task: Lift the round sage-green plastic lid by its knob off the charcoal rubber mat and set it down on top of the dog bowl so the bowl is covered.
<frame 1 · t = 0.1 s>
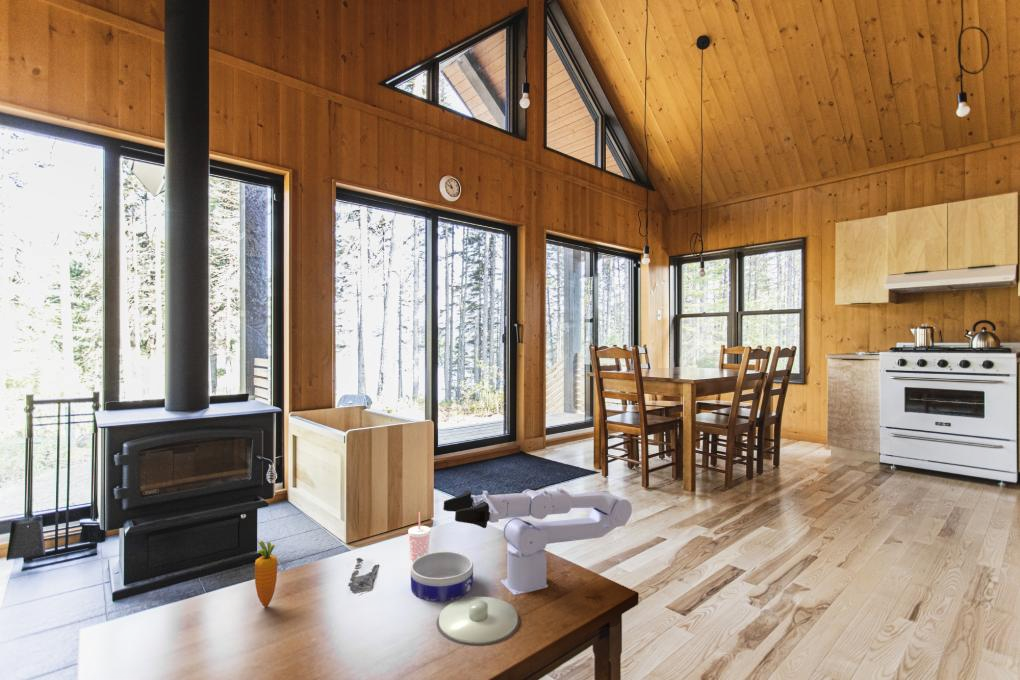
hand: (449, 510, 117), 22 cm above the table, tool horizontal, fingers open, 7 cm apart
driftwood: (364, 580, 129), on the table
dog bowl: (441, 589, 124), on the table
lid: (478, 620, 109), resting on mat
beverage cup: (419, 563, 138), on the table
mat: (478, 622, 109), on the table
carrot: (265, 607, 115), on the table
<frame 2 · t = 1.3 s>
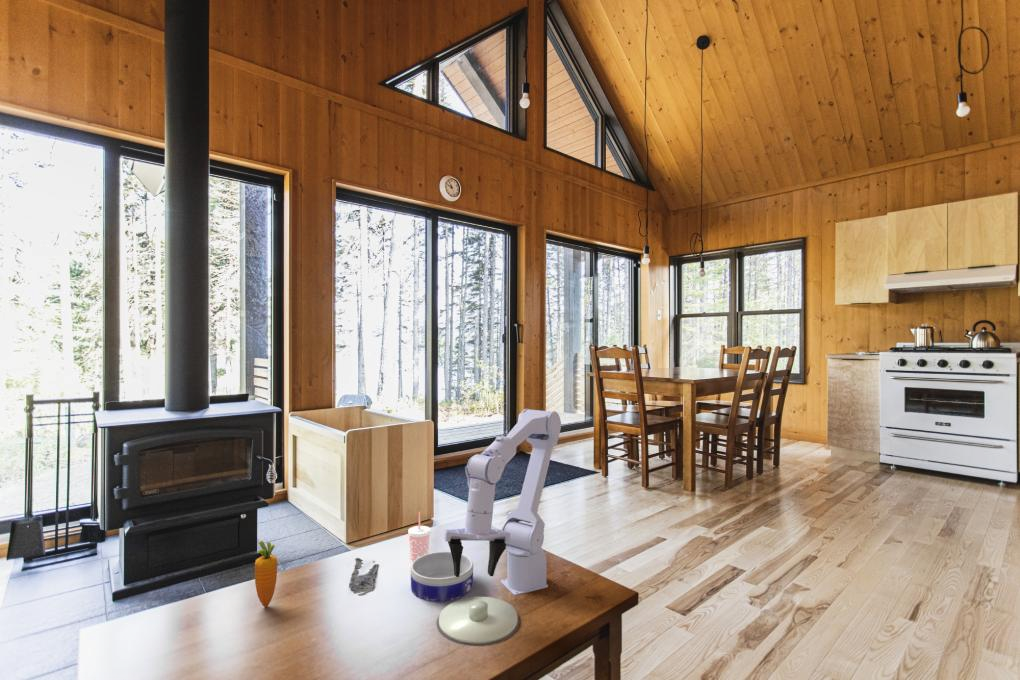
hand: (473, 575, 109), 10 cm above the table, tool pointing down, fingers open, 7 cm apart
nothing on the table moved.
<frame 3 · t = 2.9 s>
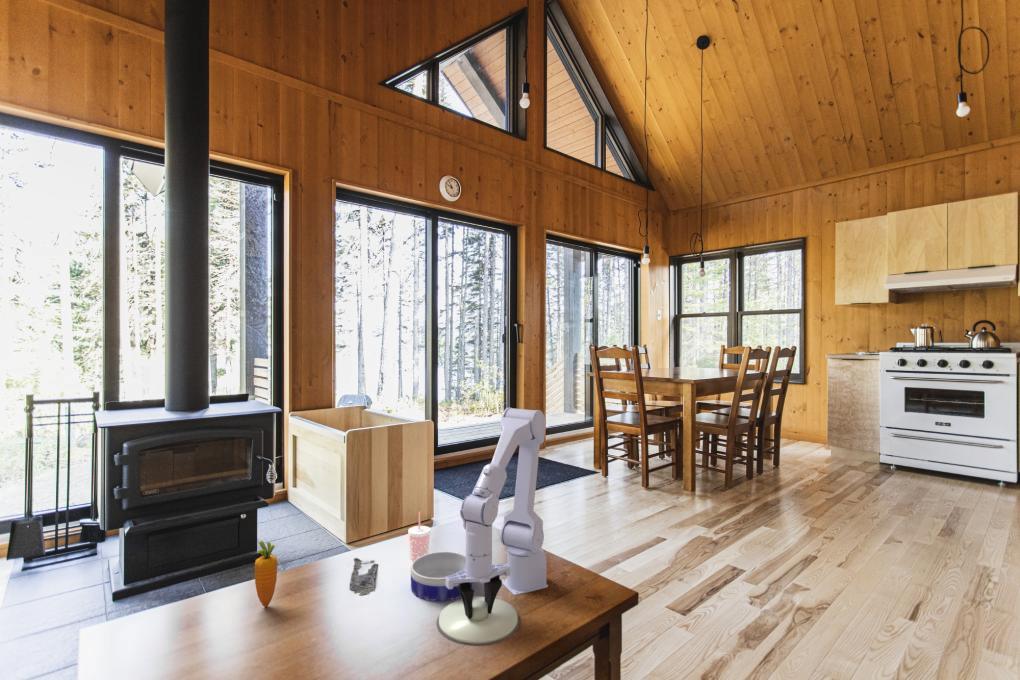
hand: (478, 613, 109), 2 cm above the table, tool pointing down, fingers closed on lid, 4 cm apart
lid: (478, 620, 109), resting on mat, touching gripper
everything else where it was.
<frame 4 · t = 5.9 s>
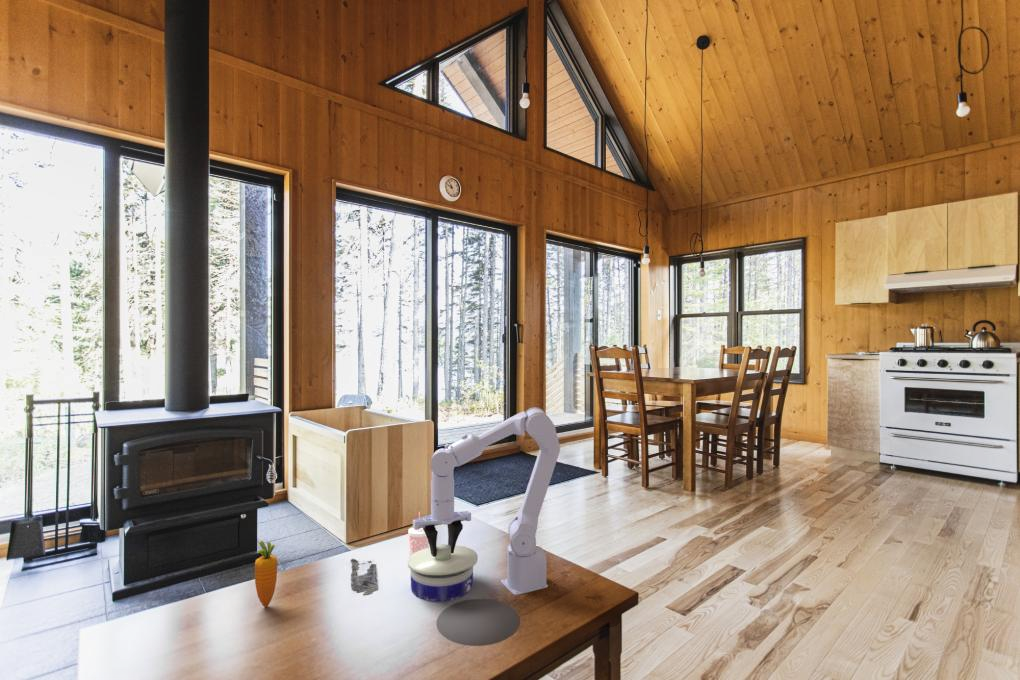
hand: (442, 553, 124), 8 cm above the table, tool pointing down, fingers closed on lid, 4 cm apart
lid: (443, 560, 124), point 7 cm above the table, touching gripper
everything else where it was.
when the fingers open (8 cm above the table, at t = 6.1 s): lid moves 1 cm, resting on dog bowl.
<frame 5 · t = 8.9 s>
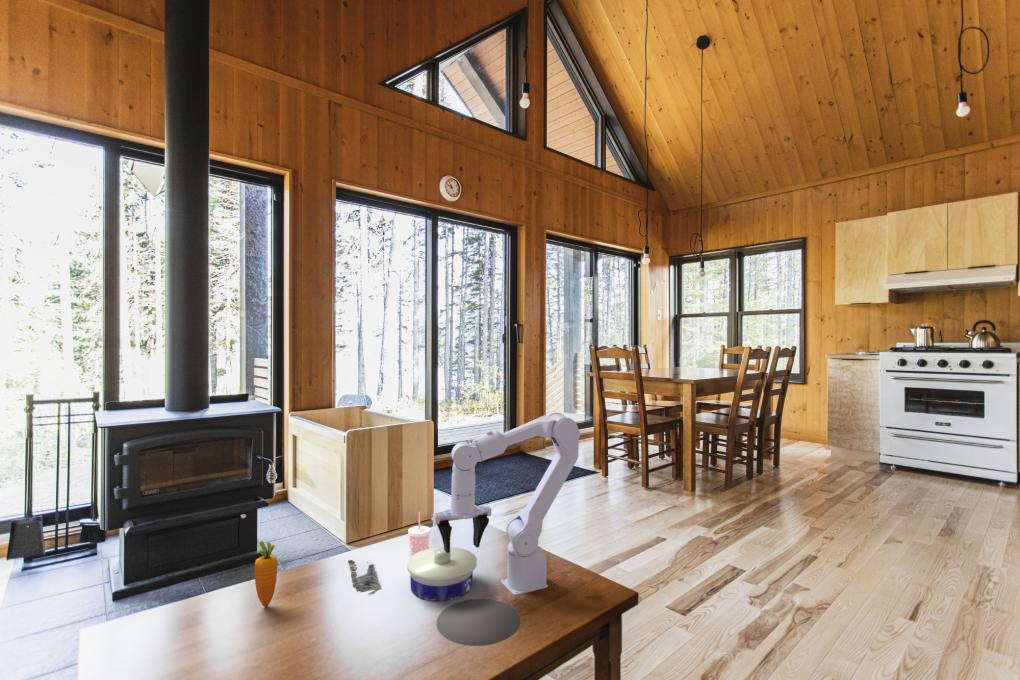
hand: (461, 548, 122), 10 cm above the table, tool pointing down, fingers open, 7 cm apart
dog bowl: (441, 588, 124), on the table, touching lid
lid: (442, 564, 124), point 6 cm above the table, touching dog bowl
at the end: lid 0.3 cm off-centre on the dog bowl, point 6.2 cm above the dog bowl's base; lid tilted 0°; the gripper is holding nothing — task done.
